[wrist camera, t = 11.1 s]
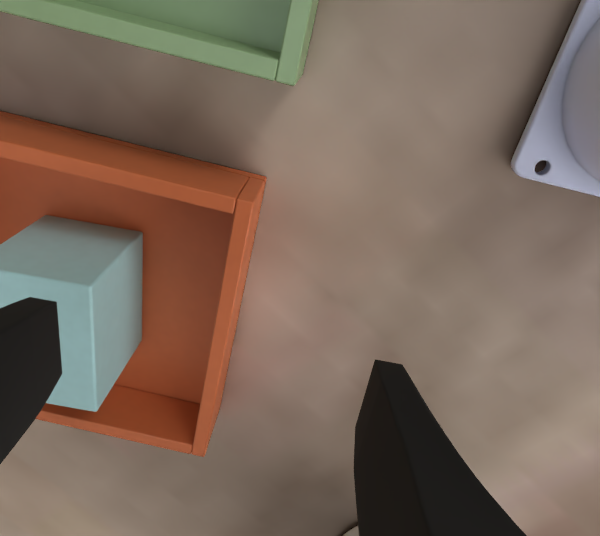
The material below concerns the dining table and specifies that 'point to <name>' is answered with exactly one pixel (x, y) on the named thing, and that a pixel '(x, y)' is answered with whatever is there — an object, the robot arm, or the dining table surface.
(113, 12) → the sage tote
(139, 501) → the dining table surface
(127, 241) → the light blue box
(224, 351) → the terracotta tote
